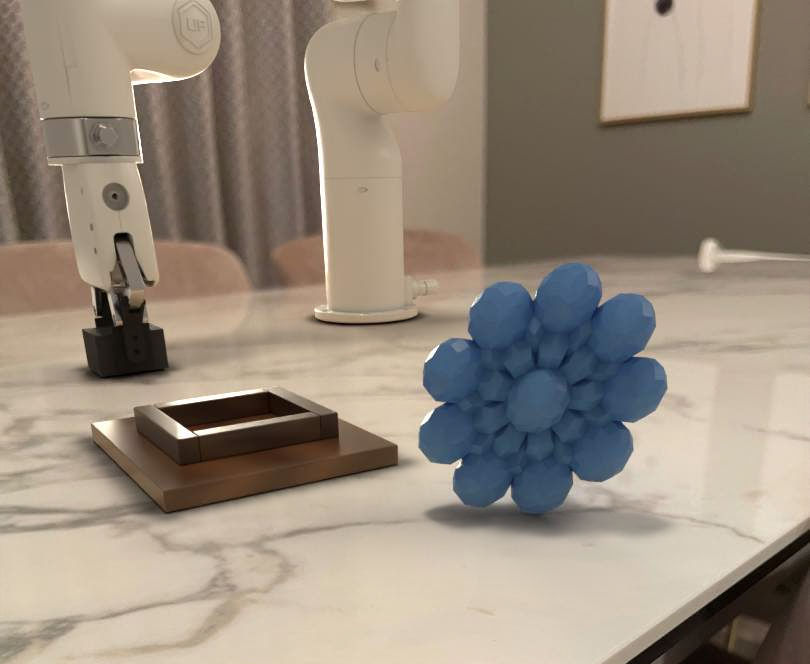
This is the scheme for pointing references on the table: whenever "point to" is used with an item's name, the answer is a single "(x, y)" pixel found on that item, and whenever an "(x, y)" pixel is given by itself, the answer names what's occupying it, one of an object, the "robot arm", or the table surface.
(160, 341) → the dark grey block
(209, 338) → the table surface
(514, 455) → the blue flower ornament
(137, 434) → the wooden socket base
